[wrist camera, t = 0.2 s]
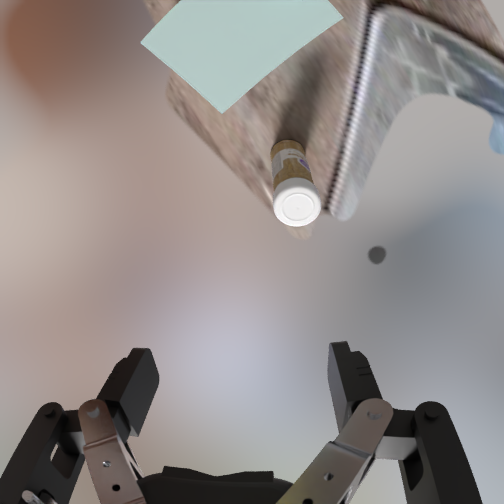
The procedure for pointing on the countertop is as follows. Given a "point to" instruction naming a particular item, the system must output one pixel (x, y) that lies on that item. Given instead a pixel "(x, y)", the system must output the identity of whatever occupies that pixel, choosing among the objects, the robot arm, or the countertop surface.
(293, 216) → the sprinkles bottle
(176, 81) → the countertop surface
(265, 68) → the lid
